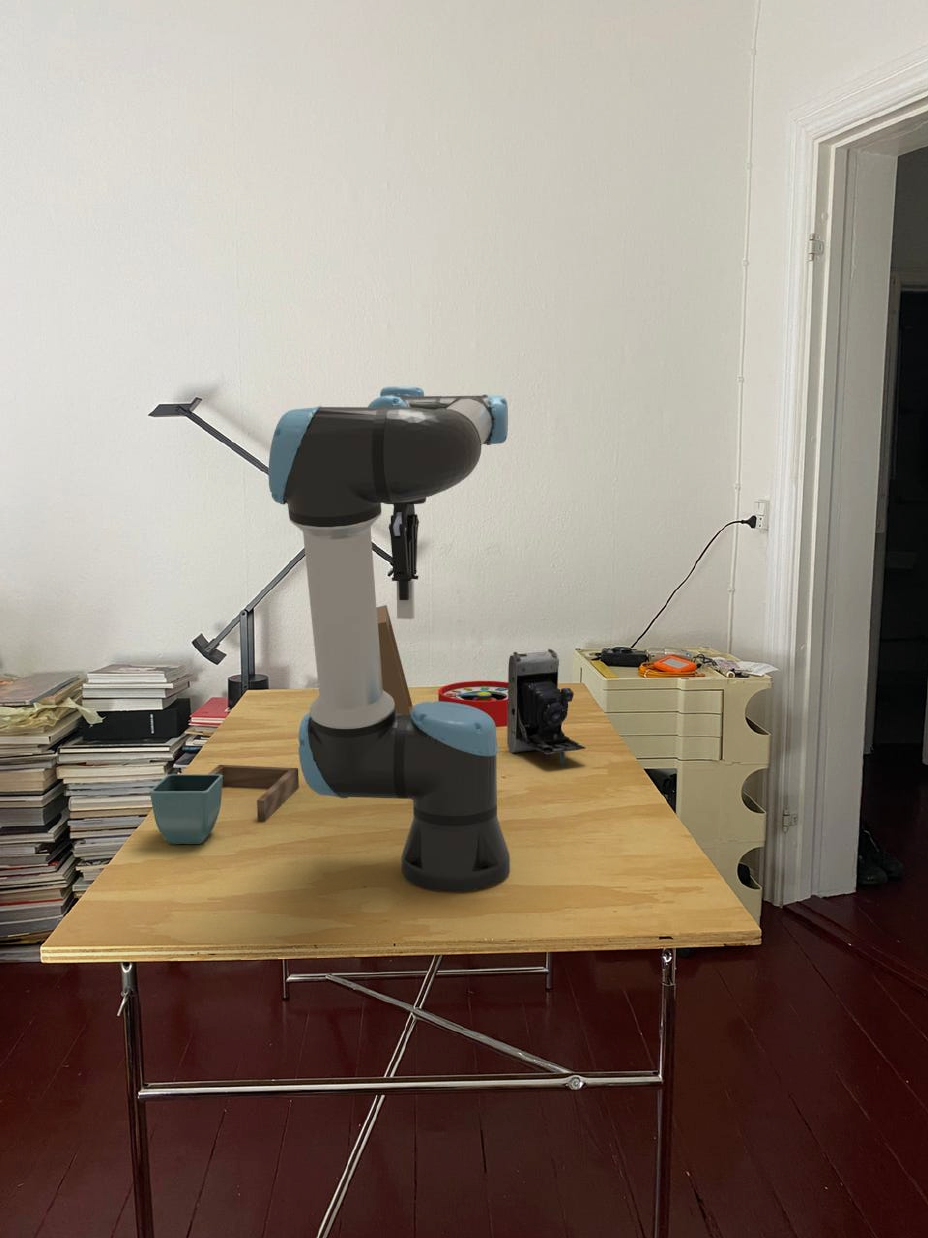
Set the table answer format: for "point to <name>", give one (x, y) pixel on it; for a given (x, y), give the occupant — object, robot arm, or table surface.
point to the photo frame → (392, 664)
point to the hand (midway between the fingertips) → (405, 617)
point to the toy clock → (480, 697)
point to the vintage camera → (537, 705)
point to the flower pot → (187, 806)
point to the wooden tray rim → (262, 784)
